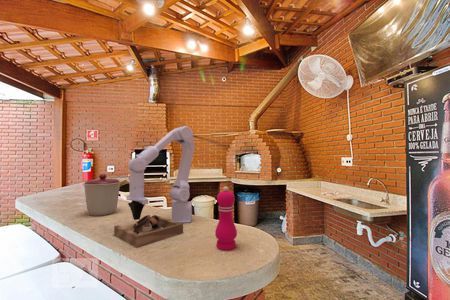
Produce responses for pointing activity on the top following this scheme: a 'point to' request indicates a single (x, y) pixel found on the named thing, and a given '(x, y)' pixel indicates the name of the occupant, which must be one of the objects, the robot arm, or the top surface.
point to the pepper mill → (226, 221)
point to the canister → (101, 195)
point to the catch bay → (150, 233)
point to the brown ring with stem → (146, 223)
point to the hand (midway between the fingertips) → (136, 219)
